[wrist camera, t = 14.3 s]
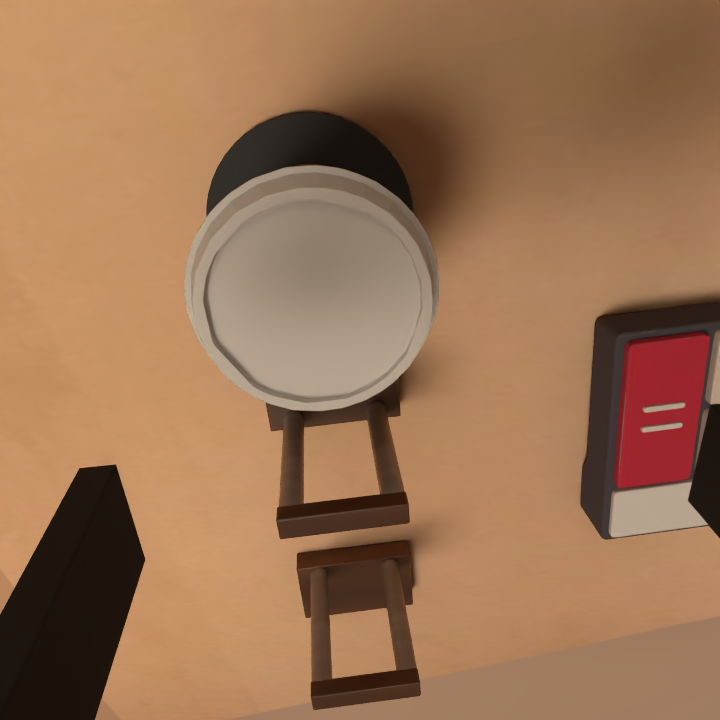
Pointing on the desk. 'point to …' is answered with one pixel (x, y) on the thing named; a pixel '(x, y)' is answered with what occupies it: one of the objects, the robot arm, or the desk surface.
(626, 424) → the calculator
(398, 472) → the bookends
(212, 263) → the disposable coffee cup
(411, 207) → the coaster
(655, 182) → the desk surface
